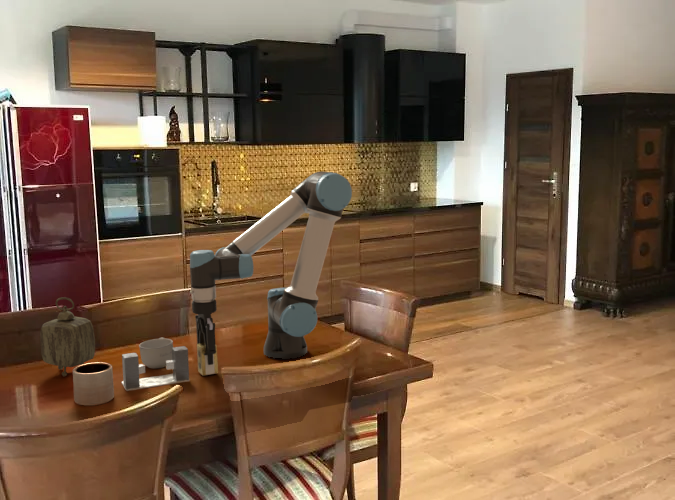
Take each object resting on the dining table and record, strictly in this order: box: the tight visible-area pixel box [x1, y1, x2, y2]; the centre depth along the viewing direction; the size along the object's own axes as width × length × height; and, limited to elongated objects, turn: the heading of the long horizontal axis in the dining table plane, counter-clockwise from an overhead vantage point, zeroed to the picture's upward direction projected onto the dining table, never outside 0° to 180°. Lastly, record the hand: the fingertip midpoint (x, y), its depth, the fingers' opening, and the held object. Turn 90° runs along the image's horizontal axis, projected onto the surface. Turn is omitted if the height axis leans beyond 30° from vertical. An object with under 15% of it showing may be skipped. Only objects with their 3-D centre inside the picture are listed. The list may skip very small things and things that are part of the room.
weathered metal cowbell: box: [39, 296, 96, 377], centre depth 223 cm, size 14×9×25 cm, turn 71°
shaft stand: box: [121, 345, 191, 392], centre depth 216 cm, size 19×8×10 cm, turn 117°
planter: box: [72, 361, 115, 407], centre depth 202 cm, size 11×11×10 cm
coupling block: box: [196, 343, 219, 376], centre depth 224 cm, size 5×5×9 cm
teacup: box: [138, 337, 174, 369], centre depth 234 cm, size 14×11×8 cm
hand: (207, 371), depth 224 cm, fingers closed on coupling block, 5 cm apart
